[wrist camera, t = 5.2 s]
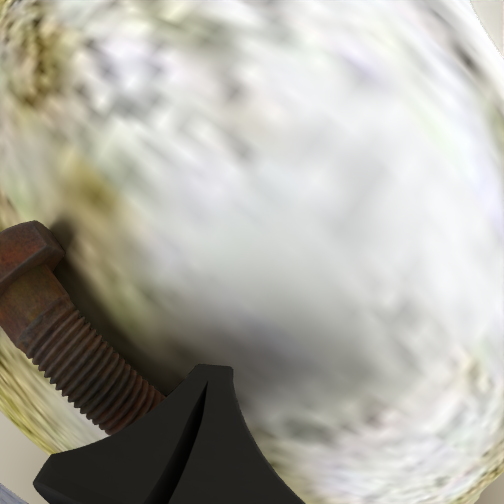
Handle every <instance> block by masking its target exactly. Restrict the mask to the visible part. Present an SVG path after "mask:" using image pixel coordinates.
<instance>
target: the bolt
mask: <svg viewBox="0 0 504 504" xmlns="http://www.w3.org/2000/svg"><path fill="white" fill-rule="evenodd" d="M64 255H65V251H64V250H63V248H62V247H61V246H60V244H59V243H58V241H57V240H56V238H55V237H54V235H53V234H52V233H51V232H50V231H49V230H48V229H47V228H46V227H45V226H44V225H43V224H41V223H40V222H38V221H35V220H34V221H29V222H25V223H21V224H18V225H15V226H12V227H10V228H7V229H5V230H3V231H2V232H0V326H1V327H2V329H3V330H4V331H5V333H6V334H7V335H8V337H9V338H10V340H11V341H12V342H13V343H14V345H15V346H16V347H17V348H18V349H20V350H21V351H22V352H24V353H25V354H26V356H27V358H28V359H30V358H33V360H32V363H33V364H34V365H39V367H38V369H39V371H45V374H44V377H45V378H48V377H51V379H50V384H56V388H55V389H56V390H62V396H63V397H64V396H68V402H69V403H70V402H74V408H80V413H81V414H86V418H87V419H88V420H90V419H92V422H93V424H94V425H98V424H99V428H100V429H101V430H105V432H106V434H108V435H113V434H115V433H117V432H119V431H120V430H122V429H124V428H126V427H127V426H129V425H131V424H132V423H134V422H135V421H137V420H138V419H140V418H141V417H143V416H144V415H146V414H147V413H148V412H150V411H151V410H152V409H153V408H155V407H156V406H157V405H158V404H159V403H160V402H162V401H163V400H164V399H165V398H166V397H165V396H164V395H162V394H160V392H159V391H158V390H156V389H155V388H154V387H153V385H149V384H148V381H147V380H143V379H142V376H141V375H136V373H137V372H136V371H135V370H134V369H132V370H131V366H130V365H129V364H125V360H124V359H123V358H121V359H119V353H113V348H112V347H108V348H107V344H108V343H107V341H104V342H101V338H102V336H101V335H98V336H95V335H96V329H92V330H90V326H91V324H90V322H89V323H86V324H85V317H84V316H83V317H81V318H79V314H80V311H79V310H75V305H74V304H73V303H72V301H71V300H70V296H69V294H68V293H67V292H66V290H65V289H64V288H63V286H62V285H61V284H60V282H59V281H58V279H57V278H56V277H55V275H54V274H53V270H54V269H55V267H56V266H57V265H58V263H59V262H60V260H61V259H62V258H63V256H64Z"/></svg>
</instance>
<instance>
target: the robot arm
mask: <svg viewBox="0 0 504 504" xmlns="http://www.w3.org/2000/svg"><path fill="white" fill-rule="evenodd" d="M33 485H34V488H35V489H36V490H37V492H38V493H39V494H40V495H41V496H42V497H43V498H44V499H45V500H46V501H47V502H48V503H49V504H305V503H304V502H303V501H302V500H301V499H300V498H299V497H298V496H297V495H296V494H295V493H294V492H293V491H292V490H291V489H290V488H289V487H288V486H287V485H286V484H285V483H284V481H283V480H282V479H281V478H280V477H279V476H278V474H277V473H276V472H275V471H274V469H273V468H272V467H271V465H270V464H269V462H268V461H267V460H266V458H265V457H264V456H263V454H262V453H261V451H260V449H259V448H258V446H257V444H256V443H255V441H254V439H253V437H252V435H251V433H250V431H249V429H248V427H247V425H246V423H245V420H244V418H243V416H242V413H241V410H240V408H239V404H238V401H237V398H236V394H235V390H234V385H233V369H232V368H231V367H229V366H217V365H206V364H198V365H196V366H195V368H194V369H193V370H192V371H191V372H190V373H189V375H188V376H187V377H186V378H185V379H184V380H183V381H182V382H181V383H180V384H179V385H178V386H177V387H176V388H175V389H174V390H173V391H172V392H171V393H170V394H169V395H168V396H167V397H166V398H165V399H164V400H163V401H162V402H160V403H159V404H158V405H157V406H156V407H155V408H153V409H152V410H151V411H150V412H148V413H147V414H146V415H144V416H143V417H141V418H140V419H138V420H137V421H135V422H134V423H132V424H131V425H129V426H127V427H126V428H124V429H122V430H120V431H119V432H117V433H115V434H113V435H111V436H109V437H107V438H104V439H102V440H99V441H97V442H94V443H92V444H89V445H86V446H83V447H80V448H77V449H73V450H69V451H65V452H60V453H56V454H51V456H50V457H49V458H48V460H47V461H46V462H45V464H44V465H43V467H42V468H41V470H40V472H39V473H38V475H37V476H36V478H35V480H34V481H33ZM0 504H28V503H27V502H25V501H24V500H22V499H21V498H20V497H18V496H17V495H15V494H14V493H13V492H11V491H10V490H9V489H7V488H6V487H5V486H4V485H2V484H1V483H0Z"/></svg>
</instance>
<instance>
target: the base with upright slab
mask: <svg viewBox="0 0 504 504" xmlns="http://www.w3.org/2000/svg"><path fill="white" fill-rule="evenodd" d="M470 3H471V5H472V7H473V10H474V12H475V14H476V16H477V18H478V20H479V21H480V23H481V25H482V26H483V28H484V30H485V32H486V33H487V35H488V37H489V38H490V40H491V41H492V43H493V44H494V46H495V47H496V49H497V50H498V52H499V54H500V55H501V56H502V58H503V59H504V0H470Z"/></svg>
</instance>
